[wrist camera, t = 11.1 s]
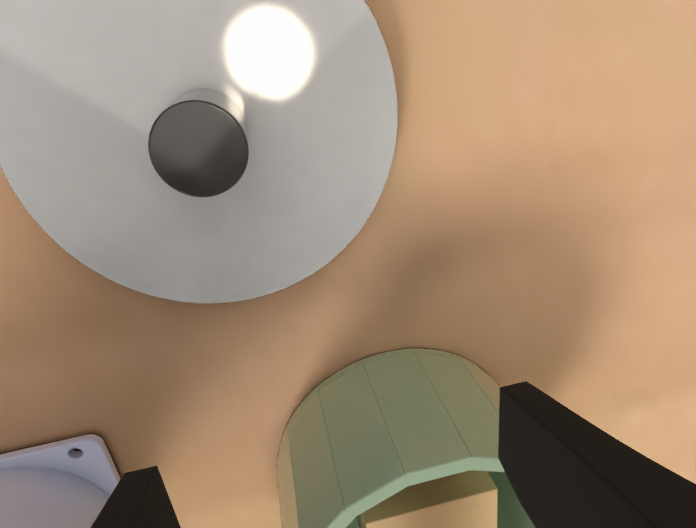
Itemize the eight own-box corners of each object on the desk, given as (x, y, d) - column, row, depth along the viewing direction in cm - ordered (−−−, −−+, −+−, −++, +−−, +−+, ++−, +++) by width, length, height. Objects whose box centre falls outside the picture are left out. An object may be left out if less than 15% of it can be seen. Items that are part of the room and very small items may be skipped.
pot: (300, 554, 25) (317, 703, 20) (255, 380, 21) (261, 510, 15) (504, 499, 27) (576, 623, 21) (507, 324, 22) (600, 423, 16)
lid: (81, 320, 18) (36, 400, 14) (-85, -78, 13) (-232, -132, 9) (402, 256, 20) (444, 311, 16) (370, -124, 14) (420, -187, 10)
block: (353, 503, 24) (379, 609, 20) (340, 426, 22) (365, 524, 18) (450, 478, 25) (497, 575, 20) (447, 400, 23) (498, 489, 18)
